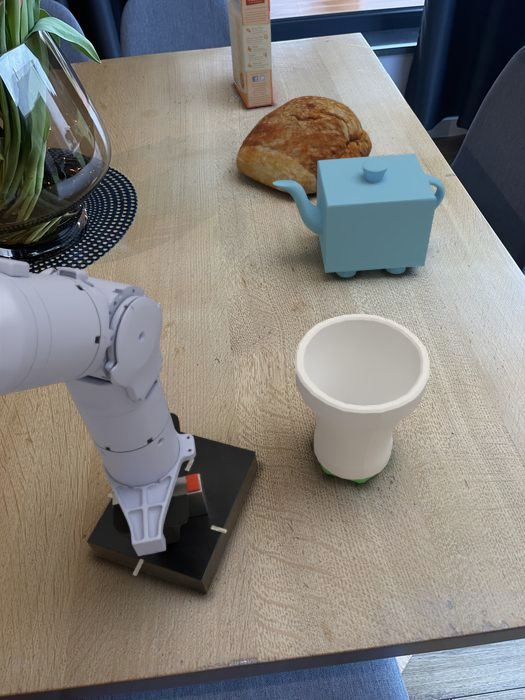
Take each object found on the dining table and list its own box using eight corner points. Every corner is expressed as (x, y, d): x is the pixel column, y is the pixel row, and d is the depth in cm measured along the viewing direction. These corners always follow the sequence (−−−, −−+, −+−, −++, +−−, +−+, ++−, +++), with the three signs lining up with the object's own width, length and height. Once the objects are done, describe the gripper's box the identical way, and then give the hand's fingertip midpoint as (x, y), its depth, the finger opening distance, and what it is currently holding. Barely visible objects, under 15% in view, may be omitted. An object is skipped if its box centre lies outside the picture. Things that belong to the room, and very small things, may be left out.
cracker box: (275, 105, 114) (270, -13, 99) (246, 110, 114) (237, -9, 98) (259, 80, 124) (253, -32, 109) (233, 84, 123) (223, -28, 108)
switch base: (204, 611, 47) (198, 597, 45) (84, 568, 50) (73, 553, 48) (261, 468, 56) (259, 451, 54) (156, 440, 59) (150, 422, 57)
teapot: (423, 226, 82) (439, 137, 72) (443, 274, 75) (463, 181, 65) (274, 237, 83) (270, 149, 73) (278, 286, 75) (274, 195, 65)
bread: (374, 161, 96) (380, 102, 89) (318, 211, 87) (319, 150, 79) (277, 134, 105) (275, 79, 98) (216, 177, 96) (209, 120, 88)
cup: (387, 401, 61) (404, 304, 50) (424, 491, 53) (453, 398, 43) (286, 418, 60) (282, 322, 50) (309, 512, 52) (309, 423, 42)
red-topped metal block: (123, 530, 49) (111, 507, 46) (123, 512, 50) (111, 488, 47) (208, 513, 50) (201, 489, 46) (206, 495, 51) (199, 471, 48)
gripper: (195, 498, 35) (220, 581, 45) (176, 338, 45) (200, 435, 55) (81, 520, 34) (132, 600, 44) (88, 353, 44) (128, 448, 54)
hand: (164, 510), depth 49 cm, fingers open, 5 cm apart
